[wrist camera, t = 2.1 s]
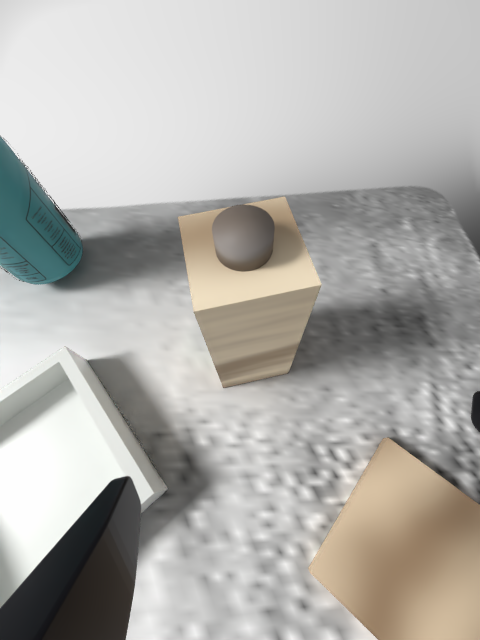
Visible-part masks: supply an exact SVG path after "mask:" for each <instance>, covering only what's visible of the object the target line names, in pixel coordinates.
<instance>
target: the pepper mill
mask: <svg viewBox="0 0 480 640" xmlns="http://www.w3.org/2000/svg"><path fill="white" fill-rule="evenodd" d="M178 220H179V226H180V232H181V238H182V244H183V250H184V256H185V262H186V268H187V274H188V280H189V286H190V292H191V298H192V304H193V310H194V314H195V316H196V319H197V321H198V324H199V327H200V329H201V332H202V334H203V337H204V339H205V342H206V345H207V347H208V350H209V352H210V355H211V357H212V360H213V363H214V365H215V368H216V370H217V373H218V375H219V378H220V381H221V383H222V386H223V388H226V387H230V386H234V385H239V384H243V383H247V382H252V381H256V380H261V379H265V378H269V377H274V376H278V375H283V374H287V373H289V370H290V367H291V365H292V362H293V359H294V357H295V354H296V351H297V349H298V346H299V343H300V341H301V338H302V335H303V333H304V330H305V327H306V325H307V322H308V319H309V317H310V314H311V312H312V309H313V306H314V304H315V301H316V298H317V296H318V293H319V290H320V288H321V285H322V284H321V282H320V280H319V277H318V275H317V272H316V270H315V268H314V265H313V263H312V260H311V258H310V256H309V253H308V251H307V248H306V246H305V244H304V241H303V239H302V236H301V234H300V232H299V229H298V227H297V224H296V222H295V220H294V217H293V215H292V212H291V210H290V208H289V205H288V203H287V200H286V198H285V197H280V198H275V199H269V200H264V201H259V202H254V203H248V204H243V205H236V206H232V207H227V208H222V209H217V210H212V211H206V212H201V213H196V214H191V215H185V216H180V217H178Z"/></svg>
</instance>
